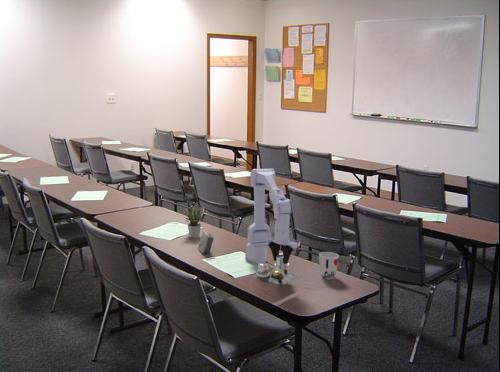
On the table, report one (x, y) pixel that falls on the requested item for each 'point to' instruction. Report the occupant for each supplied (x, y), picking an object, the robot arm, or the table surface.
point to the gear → (280, 263)
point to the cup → (328, 264)
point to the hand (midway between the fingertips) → (280, 261)
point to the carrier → (280, 276)
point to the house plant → (194, 222)
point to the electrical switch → (205, 242)
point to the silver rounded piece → (262, 270)
